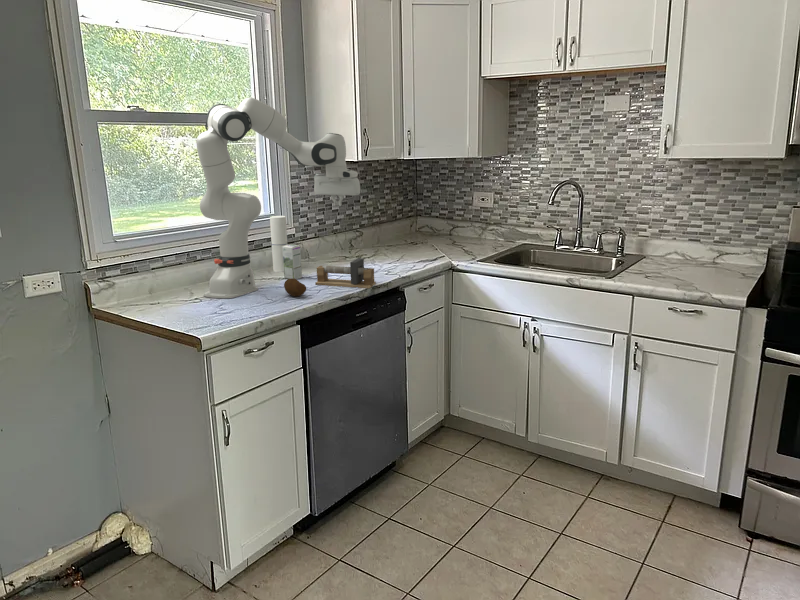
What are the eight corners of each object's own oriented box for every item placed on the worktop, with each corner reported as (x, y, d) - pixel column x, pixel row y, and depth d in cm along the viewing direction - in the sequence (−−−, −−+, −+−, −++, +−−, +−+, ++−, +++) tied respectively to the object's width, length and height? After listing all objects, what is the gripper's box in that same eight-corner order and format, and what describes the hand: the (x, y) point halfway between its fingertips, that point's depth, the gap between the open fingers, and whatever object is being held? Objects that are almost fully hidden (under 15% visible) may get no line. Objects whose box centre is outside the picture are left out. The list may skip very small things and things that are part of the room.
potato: (298, 300, 230) (297, 282, 229) (277, 295, 237) (276, 278, 235) (311, 296, 236) (310, 278, 234) (290, 292, 242) (289, 275, 241)
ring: (356, 284, 247) (355, 262, 245) (350, 283, 248) (350, 262, 246) (364, 279, 256) (363, 258, 253) (359, 279, 256) (358, 258, 254)
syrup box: (302, 277, 268) (300, 244, 264) (293, 280, 263) (291, 247, 259) (292, 276, 270) (290, 244, 267) (283, 278, 266) (281, 246, 262)
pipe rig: (369, 288, 247) (368, 270, 245) (315, 284, 254) (314, 267, 252) (375, 283, 254) (375, 266, 252) (323, 280, 261) (322, 263, 259)
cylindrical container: (270, 271, 281) (266, 217, 274) (279, 268, 287) (276, 215, 281) (282, 272, 278) (278, 218, 271) (292, 269, 284) (288, 216, 277)
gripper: (310, 173, 257) (312, 206, 260) (355, 173, 251) (356, 207, 254) (317, 172, 263) (318, 204, 266) (361, 172, 257) (362, 205, 260)
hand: (337, 205), depth 260 cm, fingers closed
